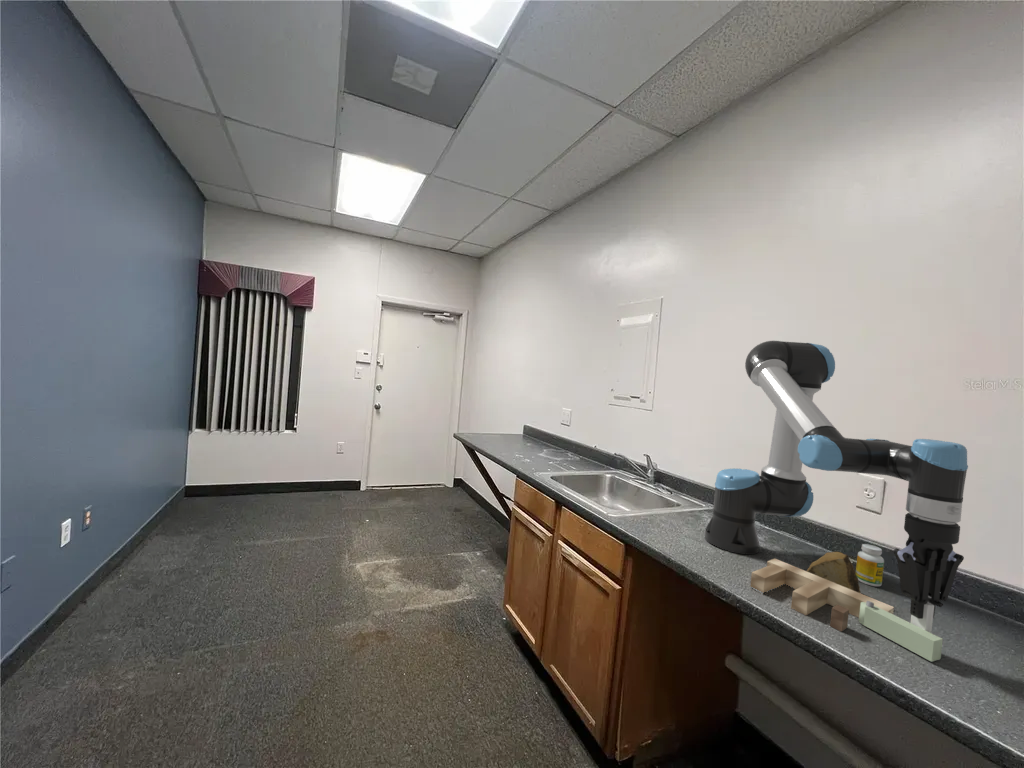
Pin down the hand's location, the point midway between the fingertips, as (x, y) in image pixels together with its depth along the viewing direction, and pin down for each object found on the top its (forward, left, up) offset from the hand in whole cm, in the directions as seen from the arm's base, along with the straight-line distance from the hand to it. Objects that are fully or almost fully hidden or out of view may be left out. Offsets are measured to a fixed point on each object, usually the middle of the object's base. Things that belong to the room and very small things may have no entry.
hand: (920, 632), depth 79 cm
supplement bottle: (-15, +26, -3) cm, 30 cm away
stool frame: (-17, -3, -3) cm, 18 cm away
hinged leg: (-3, -2, -3) cm, 4 cm away
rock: (-19, +13, -3) cm, 23 cm away
